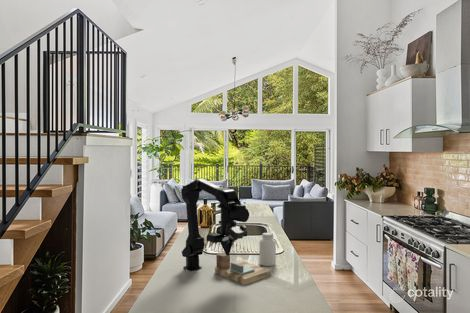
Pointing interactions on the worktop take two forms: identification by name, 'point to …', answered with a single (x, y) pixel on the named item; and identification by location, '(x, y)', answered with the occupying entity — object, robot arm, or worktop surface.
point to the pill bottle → (267, 250)
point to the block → (223, 260)
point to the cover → (240, 268)
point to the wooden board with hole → (246, 277)
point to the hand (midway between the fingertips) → (227, 255)
